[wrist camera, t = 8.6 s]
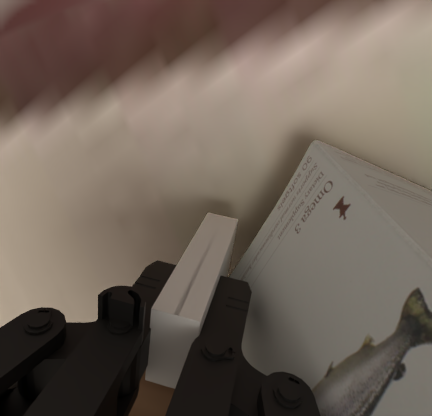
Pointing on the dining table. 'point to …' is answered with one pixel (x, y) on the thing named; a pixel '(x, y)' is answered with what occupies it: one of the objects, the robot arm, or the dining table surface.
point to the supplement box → (345, 287)
